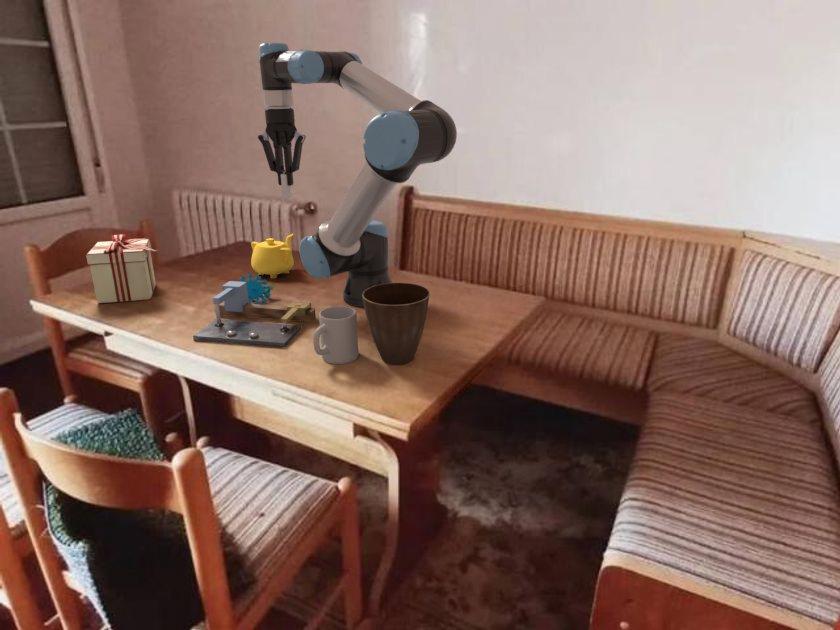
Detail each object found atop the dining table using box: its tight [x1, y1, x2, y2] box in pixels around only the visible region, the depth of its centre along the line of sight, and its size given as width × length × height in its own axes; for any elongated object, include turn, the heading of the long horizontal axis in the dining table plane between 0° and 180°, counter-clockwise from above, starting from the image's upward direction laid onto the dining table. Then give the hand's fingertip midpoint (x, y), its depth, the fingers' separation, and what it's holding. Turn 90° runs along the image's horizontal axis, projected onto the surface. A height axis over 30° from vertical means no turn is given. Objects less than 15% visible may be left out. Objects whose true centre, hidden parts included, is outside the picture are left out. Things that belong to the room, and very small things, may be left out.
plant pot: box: [362, 282, 430, 366], centre depth 132 cm, size 15×15×16 cm
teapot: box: [250, 233, 295, 279], centre depth 192 cm, size 14×14×12 cm
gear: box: [237, 273, 275, 305], centre depth 170 cm, size 11×6×10 cm
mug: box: [312, 305, 360, 365], centre depth 133 cm, size 12×8×11 cm
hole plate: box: [192, 318, 303, 349], centre depth 147 cm, size 24×11×2 cm, turn 79°
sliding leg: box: [212, 280, 250, 324], centre depth 154 cm, size 5×13×7 cm, turn 169°
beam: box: [214, 301, 317, 323], centre depth 158 cm, size 28×2×3 cm, turn 79°
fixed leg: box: [280, 300, 312, 329], centre depth 152 cm, size 5×13×3 cm, turn 169°
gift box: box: [85, 233, 159, 304], centre depth 174 cm, size 17×18×17 cm
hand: (287, 197), depth 162 cm, fingers closed
